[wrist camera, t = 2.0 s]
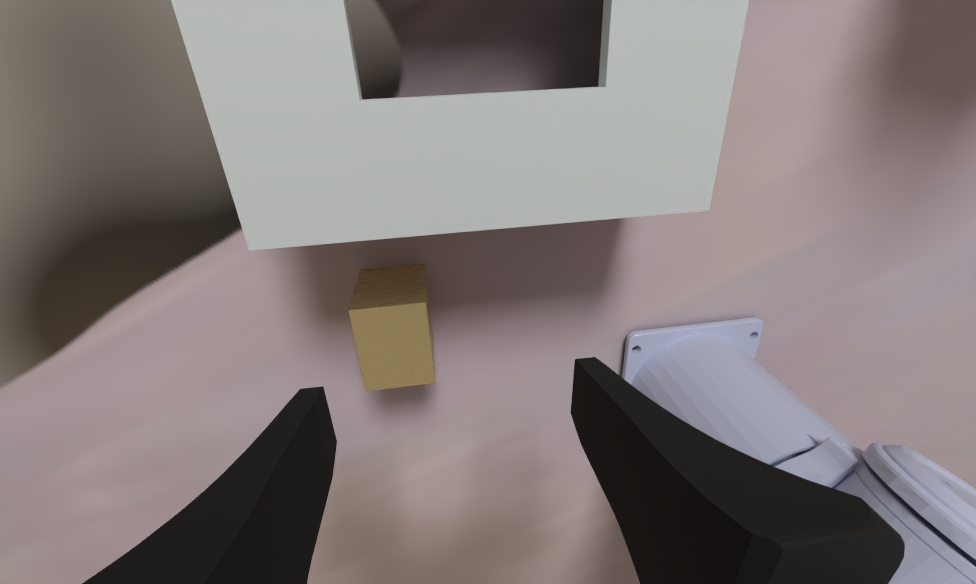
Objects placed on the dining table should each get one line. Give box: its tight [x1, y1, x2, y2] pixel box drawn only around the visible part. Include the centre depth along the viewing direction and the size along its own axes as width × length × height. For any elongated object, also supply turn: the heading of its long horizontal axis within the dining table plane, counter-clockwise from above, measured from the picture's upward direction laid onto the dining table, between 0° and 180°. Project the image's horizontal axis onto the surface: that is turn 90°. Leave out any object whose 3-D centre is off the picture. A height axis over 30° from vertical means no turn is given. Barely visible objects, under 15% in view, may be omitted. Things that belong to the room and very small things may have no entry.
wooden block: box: [348, 264, 435, 391], centre depth 20 cm, size 4×3×4 cm
